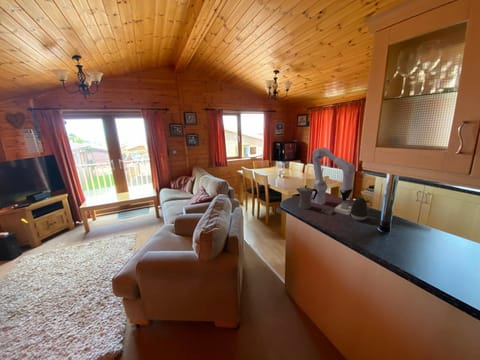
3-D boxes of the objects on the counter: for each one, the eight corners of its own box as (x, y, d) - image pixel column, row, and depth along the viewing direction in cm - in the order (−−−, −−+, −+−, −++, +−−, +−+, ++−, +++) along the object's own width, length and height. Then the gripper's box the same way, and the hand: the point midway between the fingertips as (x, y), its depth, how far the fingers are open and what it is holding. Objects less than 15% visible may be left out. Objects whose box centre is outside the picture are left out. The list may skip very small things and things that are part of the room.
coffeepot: (295, 209, 154) (295, 186, 150) (296, 204, 163) (297, 183, 158) (316, 211, 149) (318, 188, 144) (316, 206, 158) (318, 184, 153)
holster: (320, 212, 147) (320, 209, 146) (324, 209, 151) (324, 206, 150) (331, 215, 141) (331, 212, 141) (335, 212, 145) (335, 209, 144)
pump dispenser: (363, 223, 128) (366, 201, 124) (346, 218, 136) (349, 197, 132) (370, 218, 134) (373, 197, 130) (354, 213, 142) (356, 193, 138)
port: (334, 211, 146) (334, 207, 146) (339, 207, 153) (340, 203, 152) (349, 215, 139) (349, 211, 138) (354, 211, 146) (354, 207, 145)
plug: (340, 211, 146) (341, 202, 144) (342, 210, 148) (343, 200, 146) (346, 213, 144) (347, 203, 142) (347, 211, 146) (348, 201, 144)
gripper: (349, 184, 132) (347, 203, 136) (357, 179, 142) (355, 198, 146) (338, 182, 137) (336, 201, 141) (346, 178, 147) (344, 195, 151)
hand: (345, 199), depth 144 cm, fingers open, 4 cm apart
